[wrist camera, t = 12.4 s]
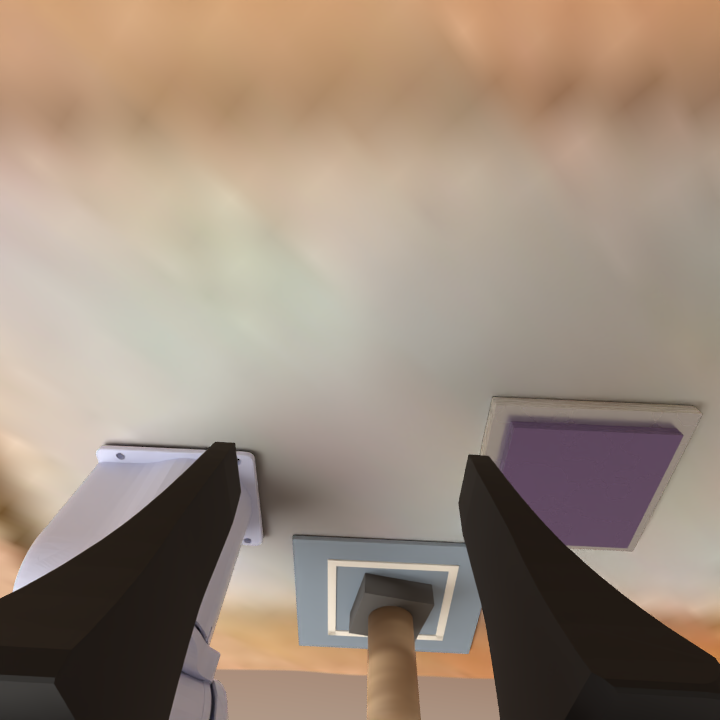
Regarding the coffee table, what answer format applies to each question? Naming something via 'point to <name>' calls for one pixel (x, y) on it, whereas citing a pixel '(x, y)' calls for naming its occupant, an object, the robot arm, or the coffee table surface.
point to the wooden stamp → (391, 642)
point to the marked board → (391, 559)
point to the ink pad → (589, 462)
